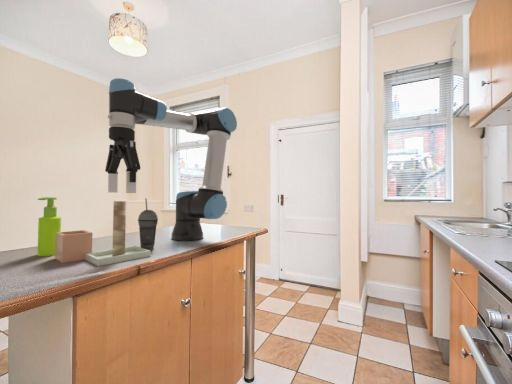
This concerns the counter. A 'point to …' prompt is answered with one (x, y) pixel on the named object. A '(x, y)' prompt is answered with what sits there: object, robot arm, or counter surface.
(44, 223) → the soap dispenser
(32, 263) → the counter surface
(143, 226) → the beverage cup
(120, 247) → the dowel
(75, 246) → the pot
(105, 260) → the tray
